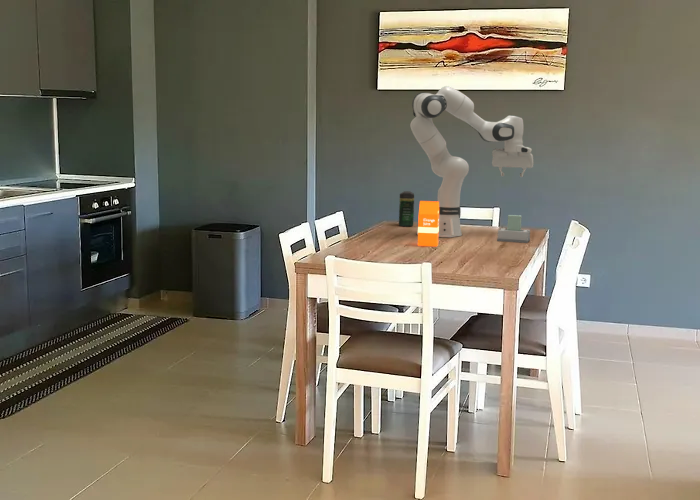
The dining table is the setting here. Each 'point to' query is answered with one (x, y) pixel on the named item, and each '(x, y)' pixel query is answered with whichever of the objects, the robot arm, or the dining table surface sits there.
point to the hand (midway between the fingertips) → (511, 176)
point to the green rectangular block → (514, 222)
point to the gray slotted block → (513, 235)
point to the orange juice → (428, 223)
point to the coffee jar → (406, 209)
